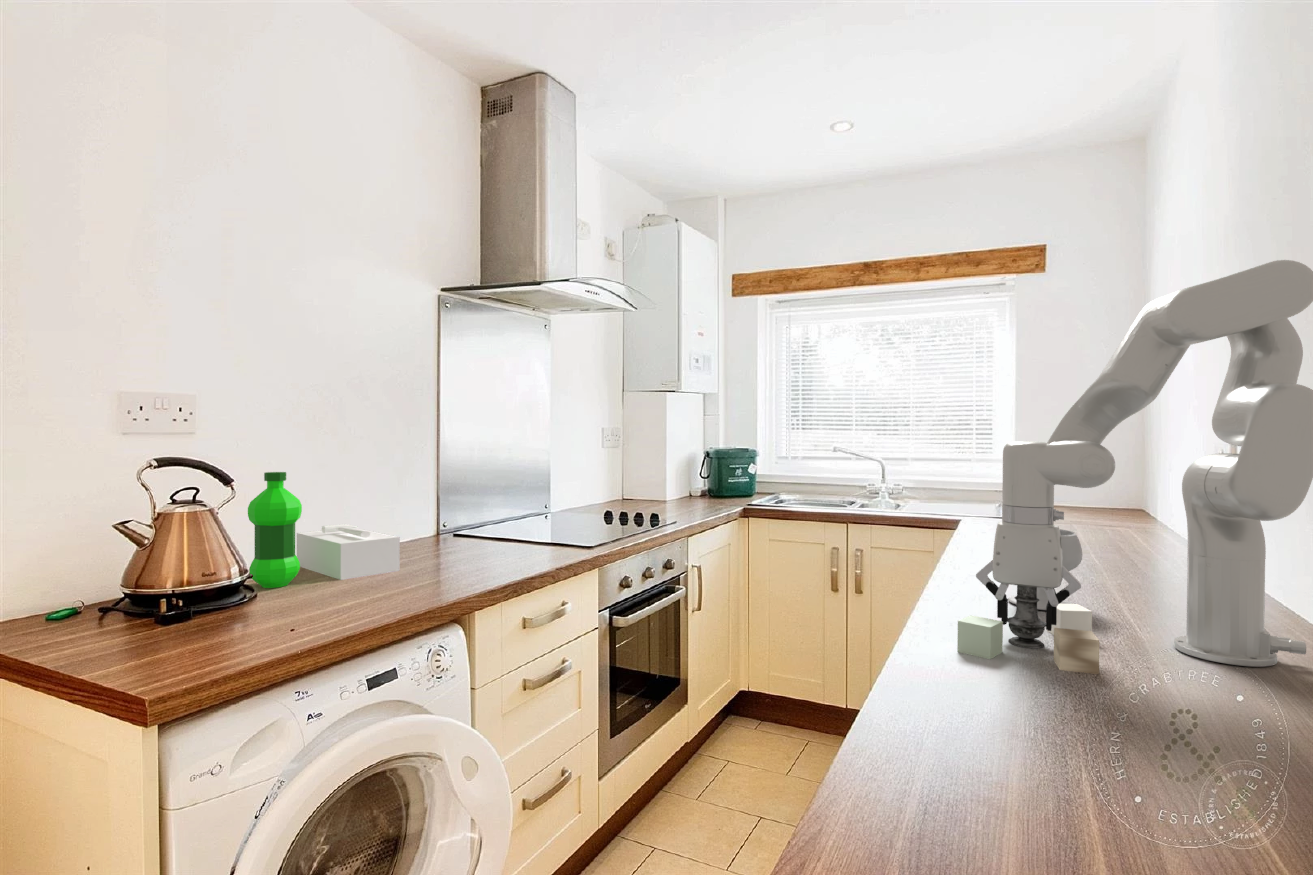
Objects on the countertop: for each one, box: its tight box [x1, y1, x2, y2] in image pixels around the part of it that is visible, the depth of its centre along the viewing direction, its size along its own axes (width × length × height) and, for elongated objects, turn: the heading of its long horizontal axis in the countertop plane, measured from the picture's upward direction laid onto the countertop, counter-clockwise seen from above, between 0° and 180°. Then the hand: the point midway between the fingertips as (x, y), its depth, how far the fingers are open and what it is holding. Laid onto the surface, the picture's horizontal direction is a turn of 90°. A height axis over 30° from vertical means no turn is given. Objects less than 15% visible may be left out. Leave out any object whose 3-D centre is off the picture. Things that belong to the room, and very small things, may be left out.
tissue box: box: [296, 523, 401, 581], centre depth 175 cm, size 14×25×11 cm, turn 48°
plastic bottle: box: [247, 471, 303, 589], centre depth 155 cm, size 10×10×25 cm
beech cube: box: [1053, 628, 1100, 675], centre depth 104 cm, size 5×5×5 cm
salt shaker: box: [1007, 585, 1046, 649], centre depth 115 cm, size 6×6×12 cm
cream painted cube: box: [1046, 603, 1093, 636], centre depth 120 cm, size 5×5×5 cm
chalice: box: [1007, 528, 1083, 611], centre depth 142 cm, size 14×14×15 cm
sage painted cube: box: [956, 614, 1004, 660], centre depth 111 cm, size 5×5×5 cm
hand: (1026, 624), depth 115 cm, fingers closed on salt shaker, 5 cm apart
